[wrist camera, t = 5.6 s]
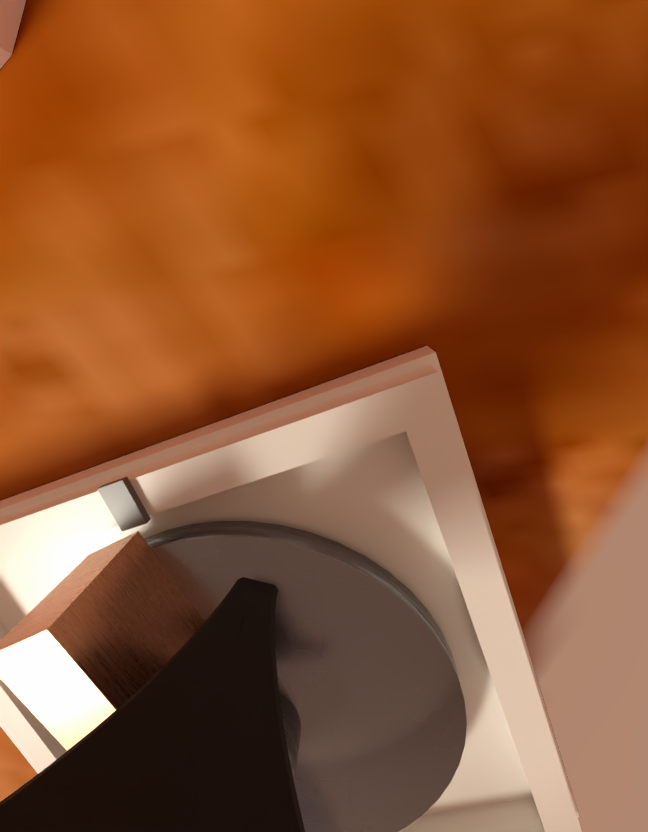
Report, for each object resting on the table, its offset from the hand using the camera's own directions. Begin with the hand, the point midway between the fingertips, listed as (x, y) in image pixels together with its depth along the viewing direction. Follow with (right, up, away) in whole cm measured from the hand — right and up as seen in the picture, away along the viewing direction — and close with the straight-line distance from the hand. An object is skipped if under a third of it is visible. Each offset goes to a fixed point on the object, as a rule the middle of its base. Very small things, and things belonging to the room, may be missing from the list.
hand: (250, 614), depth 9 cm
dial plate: (0, -3, +4) cm, 5 cm away
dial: (0, -4, +3) cm, 5 cm away
